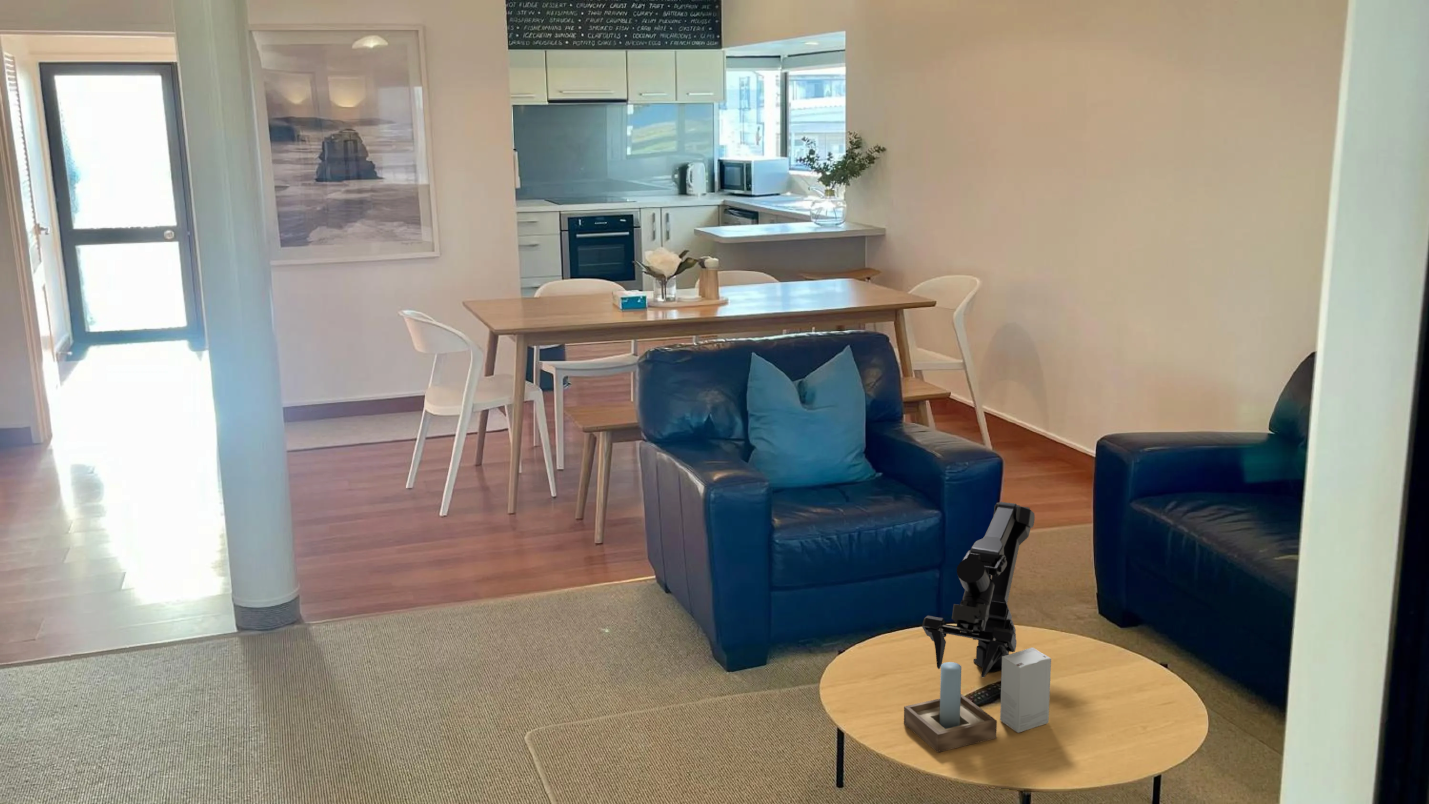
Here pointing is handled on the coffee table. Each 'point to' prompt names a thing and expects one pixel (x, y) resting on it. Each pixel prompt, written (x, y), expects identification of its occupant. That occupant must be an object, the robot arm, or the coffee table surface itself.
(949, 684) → the peg
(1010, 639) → the robot arm
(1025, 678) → the skincare box
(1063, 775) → the coffee table surface
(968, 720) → the bore box
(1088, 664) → the coffee table surface
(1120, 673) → the coffee table surface
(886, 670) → the coffee table surface
